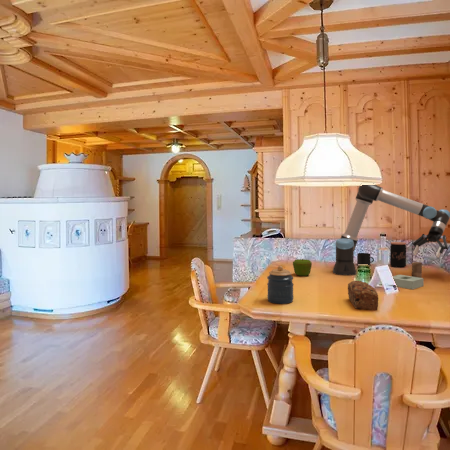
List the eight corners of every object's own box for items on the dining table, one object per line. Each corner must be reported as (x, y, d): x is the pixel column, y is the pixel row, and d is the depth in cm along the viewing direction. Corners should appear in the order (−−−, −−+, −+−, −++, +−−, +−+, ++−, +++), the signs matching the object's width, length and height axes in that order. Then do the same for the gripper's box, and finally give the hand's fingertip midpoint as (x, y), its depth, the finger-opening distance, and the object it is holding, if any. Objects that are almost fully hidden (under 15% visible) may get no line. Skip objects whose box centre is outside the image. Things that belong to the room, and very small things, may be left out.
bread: (347, 299, 181) (347, 279, 180) (369, 299, 179) (369, 280, 178) (354, 310, 162) (354, 288, 162) (379, 310, 161) (379, 289, 160)
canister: (294, 297, 184) (293, 264, 183) (293, 305, 171) (292, 268, 170) (268, 296, 187) (268, 263, 185) (265, 303, 174) (265, 267, 173)
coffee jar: (390, 267, 265) (390, 243, 263) (389, 264, 274) (390, 241, 273) (406, 268, 260) (407, 243, 259) (405, 265, 270) (405, 242, 269)
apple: (289, 274, 244) (289, 257, 243) (305, 272, 248) (305, 256, 247) (298, 277, 232) (298, 260, 232) (315, 276, 236) (315, 259, 235)
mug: (373, 267, 267) (373, 255, 266) (356, 265, 272) (356, 254, 272) (374, 265, 275) (374, 253, 274) (358, 264, 281) (358, 252, 280)
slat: (411, 282, 214) (411, 262, 213) (416, 281, 218) (416, 261, 217) (416, 283, 212) (417, 263, 211) (421, 282, 215) (421, 262, 215)
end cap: (388, 285, 209) (388, 277, 208) (399, 281, 216) (399, 274, 216) (412, 289, 198) (412, 281, 197) (423, 286, 205) (423, 278, 205)
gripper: (460, 235, 220) (449, 261, 212) (418, 232, 240) (407, 257, 232) (457, 227, 216) (445, 253, 208) (415, 225, 236) (403, 249, 228)
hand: (425, 255), depth 220 cm, fingers open, 13 cm apart
